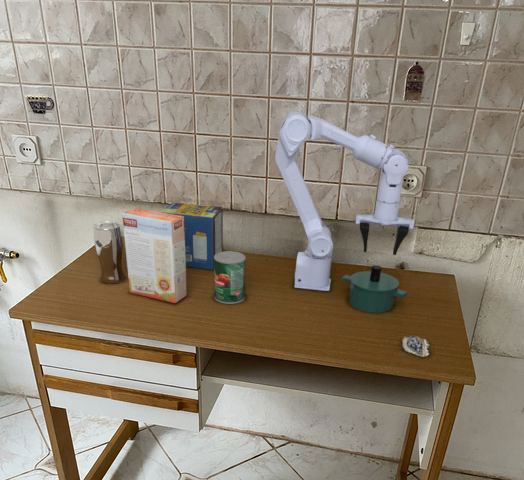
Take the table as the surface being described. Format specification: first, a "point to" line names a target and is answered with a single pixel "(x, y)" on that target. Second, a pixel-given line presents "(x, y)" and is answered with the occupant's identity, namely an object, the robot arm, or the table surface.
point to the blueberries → (416, 345)
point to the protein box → (200, 232)
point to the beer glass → (109, 251)
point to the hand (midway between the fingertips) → (379, 252)
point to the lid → (374, 280)
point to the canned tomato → (229, 277)
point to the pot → (372, 298)
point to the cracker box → (155, 254)
